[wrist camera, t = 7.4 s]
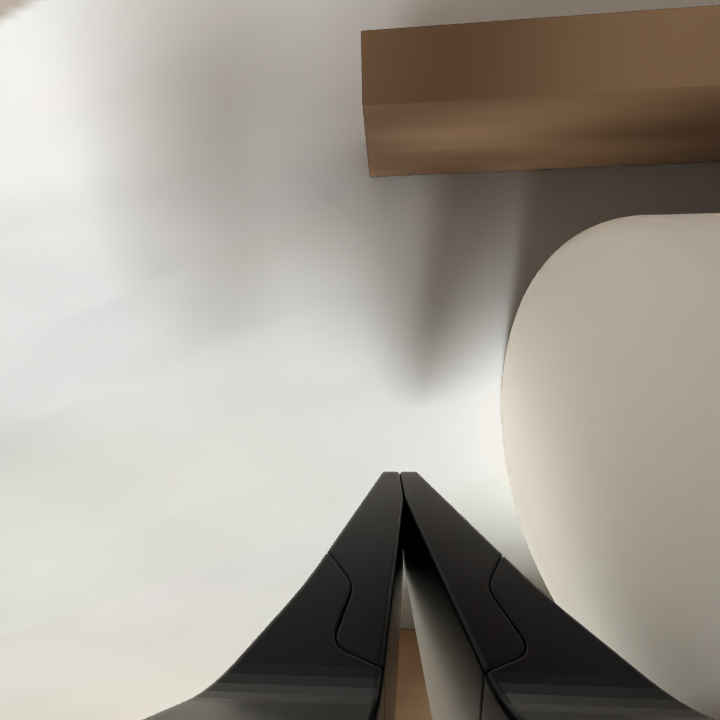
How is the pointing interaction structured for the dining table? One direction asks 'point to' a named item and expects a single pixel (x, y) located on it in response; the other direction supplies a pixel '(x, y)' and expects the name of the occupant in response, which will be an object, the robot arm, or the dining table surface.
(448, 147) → the frame
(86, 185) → the dining table surface
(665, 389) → the mug
